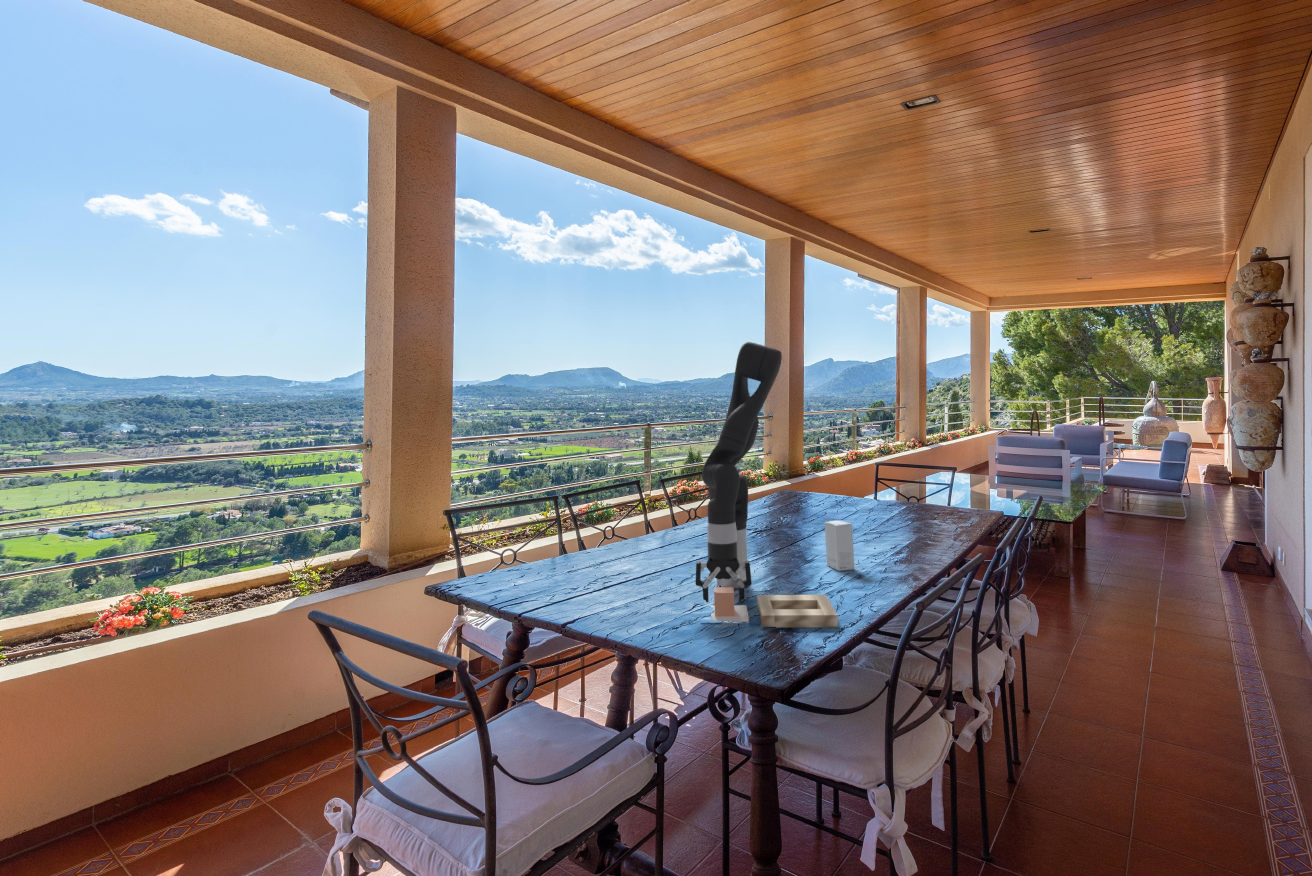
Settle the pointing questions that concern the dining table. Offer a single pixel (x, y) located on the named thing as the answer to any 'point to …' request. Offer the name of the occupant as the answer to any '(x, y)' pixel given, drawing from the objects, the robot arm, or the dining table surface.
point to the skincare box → (839, 545)
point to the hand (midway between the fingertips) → (723, 601)
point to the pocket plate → (796, 611)
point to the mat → (740, 616)
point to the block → (724, 601)
